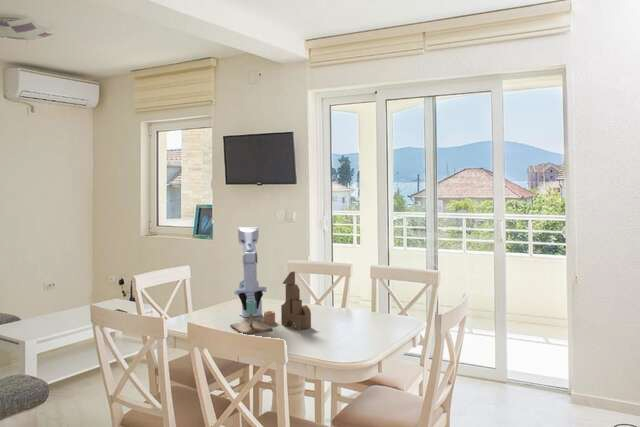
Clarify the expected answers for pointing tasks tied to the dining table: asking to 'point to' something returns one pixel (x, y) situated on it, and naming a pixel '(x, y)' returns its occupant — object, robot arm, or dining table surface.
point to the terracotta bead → (269, 317)
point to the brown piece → (251, 327)
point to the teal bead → (251, 307)
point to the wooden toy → (294, 306)
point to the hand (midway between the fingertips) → (250, 309)
